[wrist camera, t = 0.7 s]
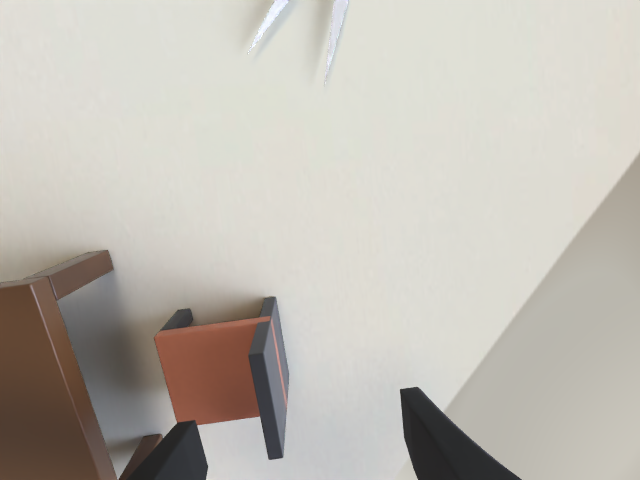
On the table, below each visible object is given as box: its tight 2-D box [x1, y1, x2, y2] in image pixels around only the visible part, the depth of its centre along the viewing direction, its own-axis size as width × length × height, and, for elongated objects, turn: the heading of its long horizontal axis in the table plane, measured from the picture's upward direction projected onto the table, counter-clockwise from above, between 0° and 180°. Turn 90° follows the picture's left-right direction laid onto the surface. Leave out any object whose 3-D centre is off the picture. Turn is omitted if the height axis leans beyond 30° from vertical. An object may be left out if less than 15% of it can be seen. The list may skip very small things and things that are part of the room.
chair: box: [154, 297, 289, 460], centre depth 17 cm, size 6×6×6 cm
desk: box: [0, 250, 163, 480], centre depth 17 cm, size 14×9×5 cm, turn 7°
